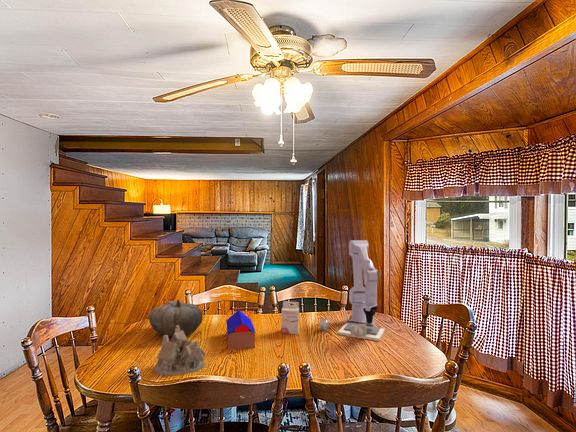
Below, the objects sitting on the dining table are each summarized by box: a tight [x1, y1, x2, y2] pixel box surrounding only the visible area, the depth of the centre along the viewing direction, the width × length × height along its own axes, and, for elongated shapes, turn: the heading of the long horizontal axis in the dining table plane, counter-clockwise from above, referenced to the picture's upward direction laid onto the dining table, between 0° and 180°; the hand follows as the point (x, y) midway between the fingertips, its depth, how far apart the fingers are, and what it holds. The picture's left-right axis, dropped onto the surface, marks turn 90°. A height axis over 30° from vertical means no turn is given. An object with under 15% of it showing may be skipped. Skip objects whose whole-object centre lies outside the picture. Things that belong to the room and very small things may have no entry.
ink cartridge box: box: [280, 300, 300, 335], centre depth 173 cm, size 9×5×15 cm, turn 84°
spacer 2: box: [364, 314, 376, 327], centre depth 173 cm, size 4×4×5 cm
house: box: [225, 309, 257, 350], centre depth 161 cm, size 12×20×12 cm, turn 13°
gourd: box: [148, 298, 203, 338], centre depth 170 cm, size 25×25×17 cm
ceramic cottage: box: [153, 325, 207, 377], centre depth 133 cm, size 16×16×15 cm
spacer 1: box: [319, 318, 330, 332], centre depth 177 cm, size 4×4×5 cm
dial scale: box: [337, 322, 386, 342], centre depth 173 cm, size 15×20×5 cm
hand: (370, 321), depth 173 cm, fingers closed on spacer 2, 4 cm apart
